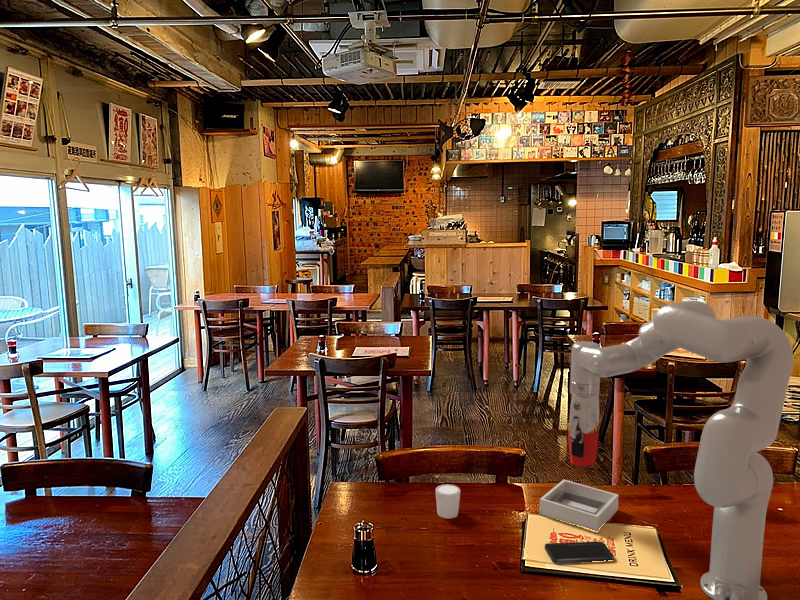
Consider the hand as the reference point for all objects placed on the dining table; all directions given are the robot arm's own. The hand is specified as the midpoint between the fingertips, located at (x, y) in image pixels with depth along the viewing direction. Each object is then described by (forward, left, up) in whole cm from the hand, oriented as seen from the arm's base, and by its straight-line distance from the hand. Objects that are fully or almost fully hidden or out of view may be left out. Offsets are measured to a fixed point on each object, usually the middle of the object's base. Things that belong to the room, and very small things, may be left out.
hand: (582, 452), depth 162 cm
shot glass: (-23, +28, -18) cm, 40 cm away
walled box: (0, 0, -17) cm, 17 cm away
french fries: (0, 0, -3) cm, 3 cm away
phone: (-20, -8, -18) cm, 28 cm away
